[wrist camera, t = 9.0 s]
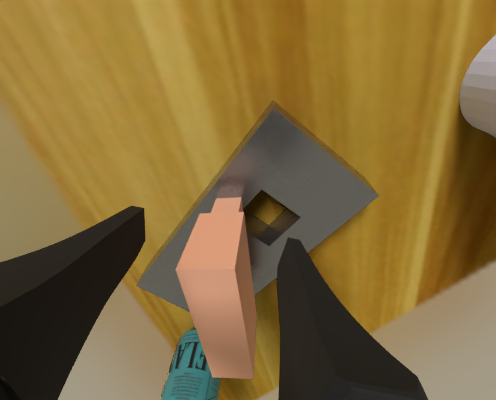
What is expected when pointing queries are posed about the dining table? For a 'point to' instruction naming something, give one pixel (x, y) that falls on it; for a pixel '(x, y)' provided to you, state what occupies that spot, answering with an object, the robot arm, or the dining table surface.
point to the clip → (221, 289)
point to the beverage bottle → (190, 372)
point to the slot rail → (280, 188)
